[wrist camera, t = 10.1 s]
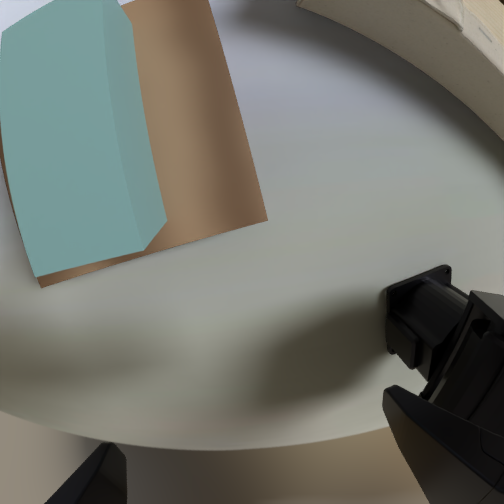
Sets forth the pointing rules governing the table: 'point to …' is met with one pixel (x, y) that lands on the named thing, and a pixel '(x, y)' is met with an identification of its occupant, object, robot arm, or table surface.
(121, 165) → the block
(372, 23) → the box
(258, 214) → the stand
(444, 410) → the robot arm
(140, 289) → the table surface
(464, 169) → the table surface
